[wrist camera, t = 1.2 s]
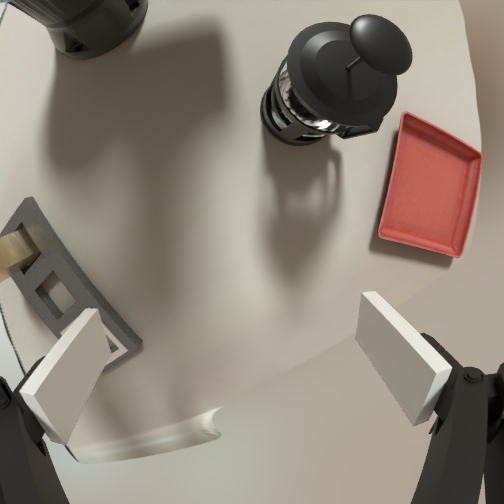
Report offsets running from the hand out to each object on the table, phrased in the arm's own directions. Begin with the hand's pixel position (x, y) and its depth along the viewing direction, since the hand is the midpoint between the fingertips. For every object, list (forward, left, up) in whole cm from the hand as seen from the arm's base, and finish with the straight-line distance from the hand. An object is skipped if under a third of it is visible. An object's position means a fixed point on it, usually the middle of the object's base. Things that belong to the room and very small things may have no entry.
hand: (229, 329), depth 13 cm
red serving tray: (+12, +28, -25) cm, 39 cm away
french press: (-7, +16, -25) cm, 30 cm away
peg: (-17, -27, -25) cm, 40 cm away
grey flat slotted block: (-8, -27, -25) cm, 37 cm away
